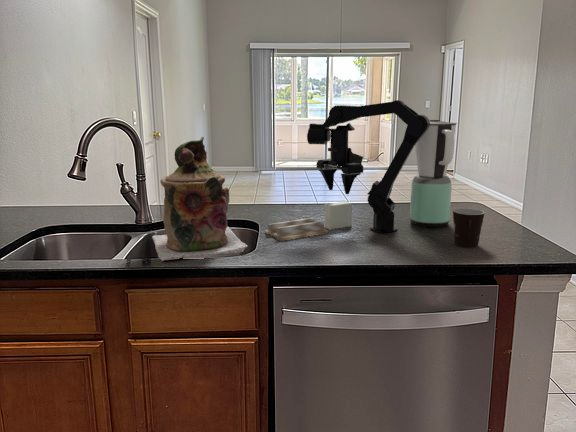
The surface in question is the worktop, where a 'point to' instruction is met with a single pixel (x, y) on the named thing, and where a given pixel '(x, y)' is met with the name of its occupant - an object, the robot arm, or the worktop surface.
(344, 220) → the door panel
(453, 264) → the worktop surface
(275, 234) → the track base
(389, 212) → the robot arm
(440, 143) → the mint green blender
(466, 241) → the dark brown cup
